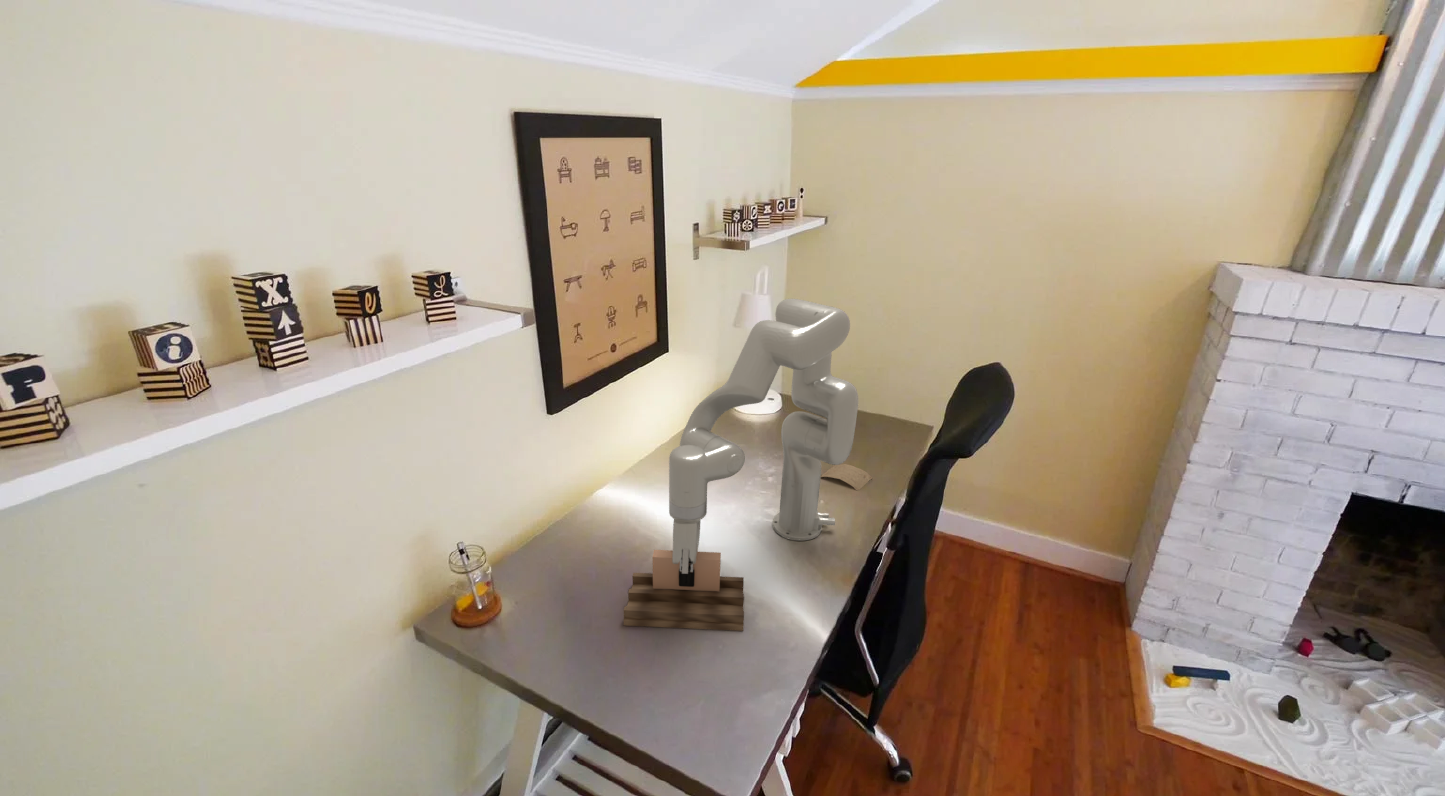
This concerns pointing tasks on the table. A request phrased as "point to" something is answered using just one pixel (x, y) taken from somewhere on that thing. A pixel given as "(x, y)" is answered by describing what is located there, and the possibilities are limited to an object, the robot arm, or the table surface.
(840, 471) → the tan curved panel
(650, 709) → the table surface
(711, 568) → the clay strip
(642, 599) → the wooden stepped riser
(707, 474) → the robot arm
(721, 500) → the table surface
